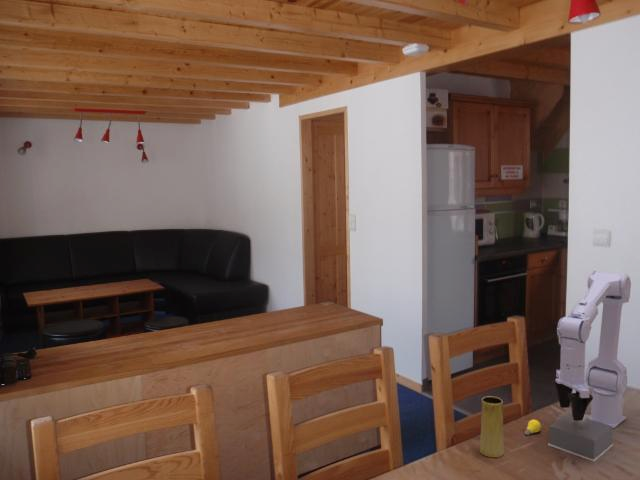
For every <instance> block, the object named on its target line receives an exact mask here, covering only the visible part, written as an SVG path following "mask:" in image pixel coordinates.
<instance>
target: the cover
mask: <svg viewBox="0 0 640 480" xmlns="http://www.w3.org/2000/svg"><path fill="white" fill-rule="evenodd" d="M589 418H590V414H587V413H585V414H584V417H583V420H581V421H575V420H574V419H573V415H572V412H568V413H566V414H565V415H564V416H562V417H561V418H559V419H557V421H554V423H552V424H550V425H549V430H548V431H549V436H548V437H549V438H548V443H549V444H551V445H554V446H557V447H560V448H563V449H565V450H568V451H571V452H574V453H577V454H579V455H582V456H585V457H588V458H591V459H595V458H597V457H598V456H599V455H600V454H601V453H602V452H603V451H605V450H606V449H607V448H608V447H609V446H610V445H612V444H613V432H614V431H613V429H614V428H613V426H610V425H607V424H604V423H601V422H597V421H594V420H591V419H589Z"/></svg>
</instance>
